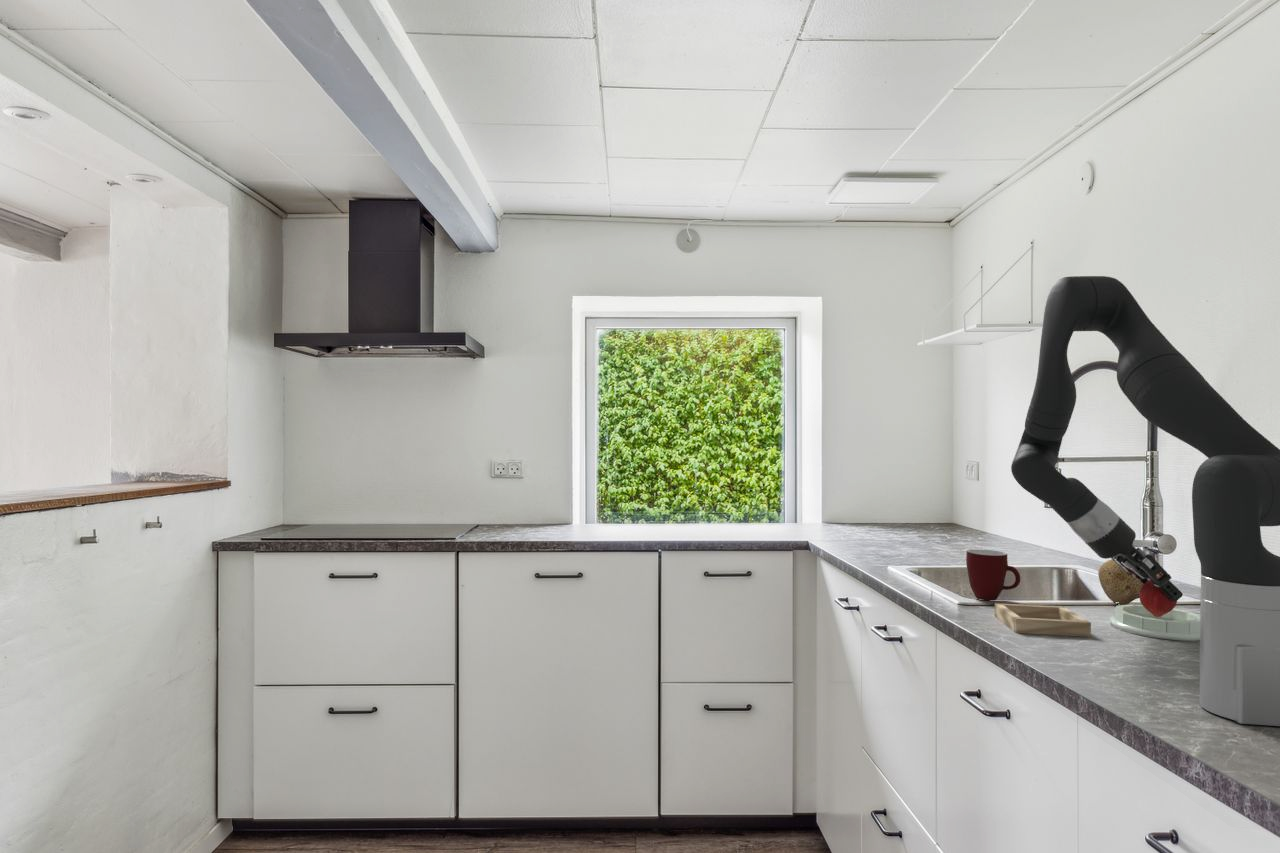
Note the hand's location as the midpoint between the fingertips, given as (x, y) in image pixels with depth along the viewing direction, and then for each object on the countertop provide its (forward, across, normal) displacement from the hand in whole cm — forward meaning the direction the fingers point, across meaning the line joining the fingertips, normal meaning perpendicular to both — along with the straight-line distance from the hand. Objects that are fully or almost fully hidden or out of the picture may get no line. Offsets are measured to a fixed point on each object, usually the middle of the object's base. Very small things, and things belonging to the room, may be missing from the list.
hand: (1168, 594), depth 139 cm
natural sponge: (+6, +20, +4) cm, 21 cm away
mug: (-13, +20, +22) cm, 32 cm away
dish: (+4, 0, +6) cm, 7 cm away
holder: (-11, -2, +21) cm, 24 cm away
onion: (+2, 0, +4) cm, 5 cm away
